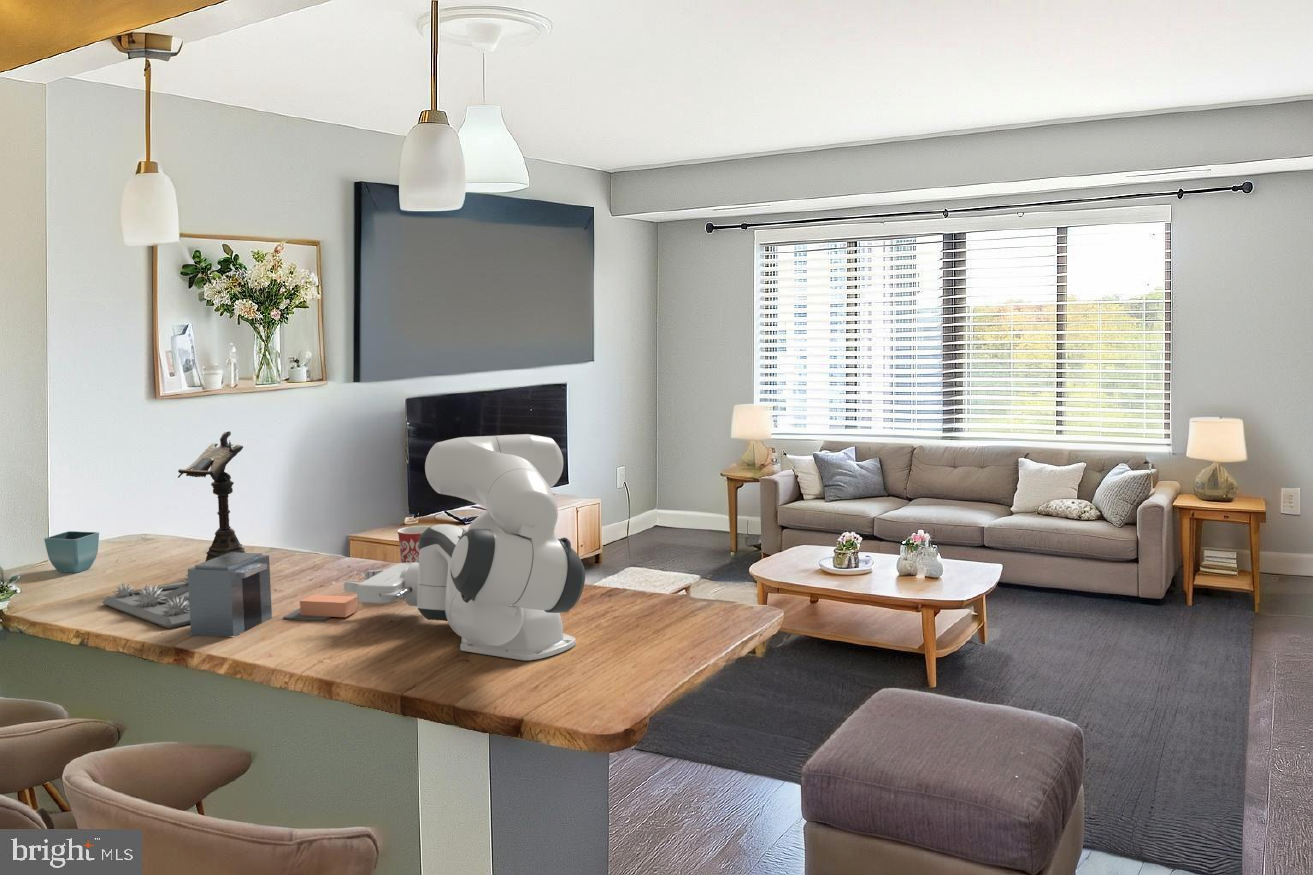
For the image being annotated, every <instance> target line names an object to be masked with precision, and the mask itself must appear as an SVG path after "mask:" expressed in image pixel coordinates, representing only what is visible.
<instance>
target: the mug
mask: <svg viewBox="0 0 1313 875" xmlns="http://www.w3.org/2000/svg"><path fill="white" fill-rule="evenodd" d="M430 526H431V525H417V526H416V525H415V526H407V527H406V526H405V527H402V528H399V529H397V530H396V532H397V535H398V544H399V554H400V563H414V562H418V563H419V537H420V536H421V534H422V533H423V532H424V531H425V530H426V529H427V528H429V527H430Z"/></svg>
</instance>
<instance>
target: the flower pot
mask: <svg viewBox="0 0 1313 875" xmlns="http://www.w3.org/2000/svg"><path fill="white" fill-rule="evenodd" d="M99 540H100V532H99V531H72V530H71V531H70V530H69V531H65V532H61V533H58V534H55V535H51V536H47V537H45V538H44V539H43V541H44V545H45V549H46V554H47V556H48V560H49V562H50V563H51V565H52V566H53V568H55V570H56V571H57V572H58V573H69V574H70V573H71V574H72V573H73V574H77V573H80V572H82V571H85V570H88V569H91V567H92V566H93V564H94V562H95V561H96V559H97V556H98V552H99V542H100V541H99Z"/></svg>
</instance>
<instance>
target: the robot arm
mask: <svg viewBox="0 0 1313 875" xmlns="http://www.w3.org/2000/svg"><path fill="white" fill-rule="evenodd" d="M424 470H425V471H424V472H425V476H426V479H427V481H428V483H429V485H430V486H431V488H432V489H433V490H434V491H435V492H436V493H437V494H440V495H444V496H445V495H446V496H451V497H456V498H460V499H463V500H466V501H469V502H471V503H473V504H476V505H478V506H481V507H483V508H485V509H486V512H484V513H482V514H480V515H478V516H477V517H476V518H475V519H473V520H472V521H471V523H470V524H469V526H468V529H467V530H465V529H464V528H462V527H460V526H457V525H454V524H448V523H444V524H442V523H441V524H440V523H439V524H435V525H429V526H430V527H429V528H427V529H426V530H425V531H424V532H423V533H422V534H421V536H420V537H419V563H418V562H414V563H401V562H400V563H395V564H394V565H392V566H390V567H388V568H386V569H384V568H383V569H376V570H370V569H369V570H367V571H365V572H364V580H363V581H361V582H356V580H347V581H345V582H344V583H343V590H344V591H345V592H352V593H354V594H356V598H357V602H358V601H359V602H360V603H365V604H366V603H367V604H391V603H396V602H397V601H399V600H400V599H402V600H405V603H406V604H407V605H408V606H409V607H417V610H418V611H419V613H420V614H421V615H422V616H423V618H425V619H426V620H427V621H430V620H432V621H443V622H448V625H449V626H450V628H451V630H452V631H453V632H454V633H455V634H456V635H458V636H459V637H460V638H461V639H460V646H459V650H460V651H461V652H462V651H463V652H466V653H467V652H468V653H474V654H481V655H486V656H487V655H488V656H494V657H499V658H500V657H501V658H505V659H510V660H511V659H514V660H518V661H533V660H534V661H535V660H540V659H544V658H548V657H551V656H554V655H557V654H561V653H563V652H566V651H567V650H569V649H572V648H573V647H574V646H575V645H576V643H577V642H576V637H574V636H572V635H569V634H566V633H564V627H563V621H562V616H561V613H567V612H569V611H571V610H572V609H573V608H574V607H575V606H576V605H577V603H578V602H579V600H580V598H581V596H582V594H583V591H584V588H585V584H586V582H585V581H586V570H585V566H584V564H583V562H582V560H581V557H580V556H579V554H578V552H576V551H575V550H574V549H573V548H572V544H571V540H570V539H568V538H567V537H561V538H557V536H556V534H555V529H556V528H555V527H556V524H557V523H558V517H559V509H558V505H557V500H556V497H555V494H554V493H553V491H552V489H551V488H553V487H554V486H555V485H556V484H557V483H558V481H559V480H560V478H561V476H562V473H563V470H564V455H563V453H562V451H561V449H560V447H559V445H558V443H557V442H556V441H555V440H554V439H553V438H552V437H550V436H541V435H536V434H529V433H525V434H524V433H523V434H504V435H503V434H502V435H484V436H482V435H480V436H478V435H477V436H462V437H455V438H451V439H446V440H443V441H439V442H436V443H434V445H432V447H431V448H430V450H429V451H428V454H427V455H426V458H425V463H424Z"/></svg>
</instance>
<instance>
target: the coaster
mask: <svg viewBox="0 0 1313 875" xmlns="http://www.w3.org/2000/svg"><path fill="white" fill-rule="evenodd" d="M330 618H331V617H330V616H308V615H301V614H300V608H297V609H296V610H294V611H291V612H290V613H289V614H286V615H284V616H283V617H282V619H283V620H296V621H314V622H315V621H318V622H319V621H321V622H324V621H327V620H328V619H330Z"/></svg>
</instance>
